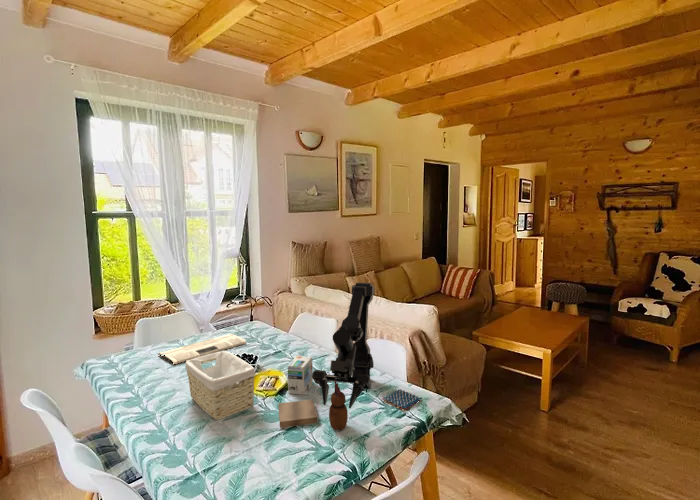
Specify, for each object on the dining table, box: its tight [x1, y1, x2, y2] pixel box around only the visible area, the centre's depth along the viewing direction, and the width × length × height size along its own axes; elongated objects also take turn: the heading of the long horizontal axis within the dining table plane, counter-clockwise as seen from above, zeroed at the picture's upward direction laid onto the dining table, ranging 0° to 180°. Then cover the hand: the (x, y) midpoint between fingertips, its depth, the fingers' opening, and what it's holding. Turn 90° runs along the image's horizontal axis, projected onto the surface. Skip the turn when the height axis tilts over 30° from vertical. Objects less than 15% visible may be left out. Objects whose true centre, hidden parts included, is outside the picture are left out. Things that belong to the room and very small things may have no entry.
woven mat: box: [382, 389, 422, 412], centre depth 139 cm, size 10×11×2 cm
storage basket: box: [185, 350, 256, 421], centre depth 139 cm, size 24×16×15 cm
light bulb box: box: [287, 355, 314, 396], centre depth 150 cm, size 11×7×11 cm, turn 168°
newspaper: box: [157, 333, 247, 365], centre depth 193 cm, size 37×19×3 cm, turn 137°
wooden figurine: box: [328, 379, 349, 431], centre depth 122 cm, size 7×6×15 cm
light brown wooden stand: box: [277, 398, 319, 429], centre depth 130 cm, size 12×12×2 cm
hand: (336, 406), depth 121 cm, fingers open, 8 cm apart
